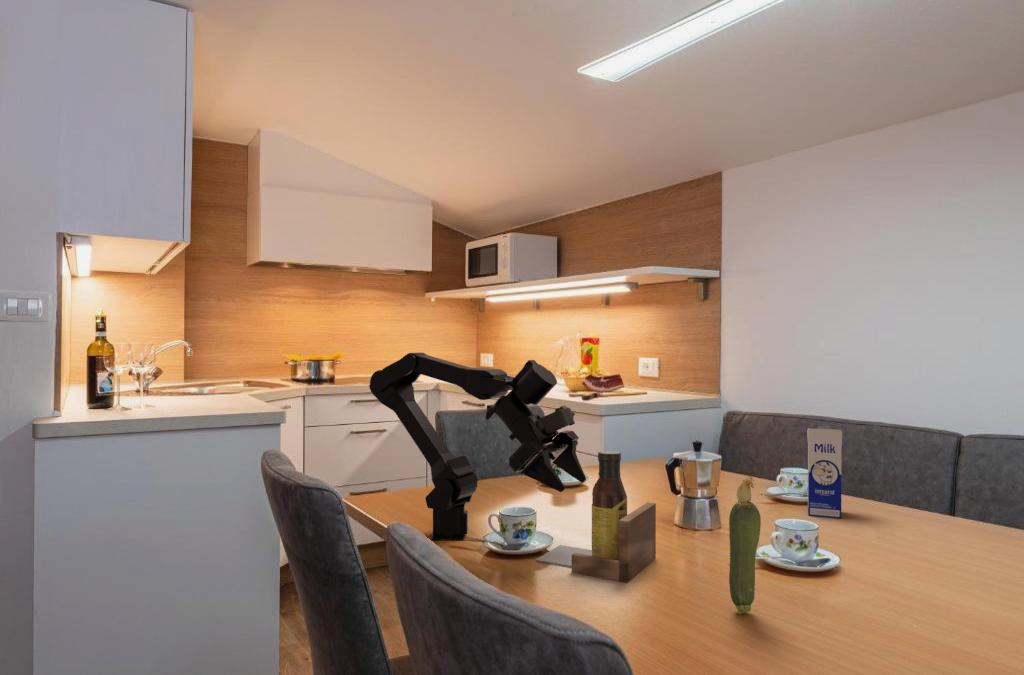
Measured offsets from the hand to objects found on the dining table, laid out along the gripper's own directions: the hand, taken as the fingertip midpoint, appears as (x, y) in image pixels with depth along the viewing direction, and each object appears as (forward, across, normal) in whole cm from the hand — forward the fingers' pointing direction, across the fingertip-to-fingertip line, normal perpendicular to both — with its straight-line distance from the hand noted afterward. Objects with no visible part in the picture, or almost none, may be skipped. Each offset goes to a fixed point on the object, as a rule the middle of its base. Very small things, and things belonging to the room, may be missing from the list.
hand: (574, 485), depth 126 cm
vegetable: (+32, -10, -13) cm, 36 cm away
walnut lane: (+15, 0, +4) cm, 15 cm away
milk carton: (+35, +58, -16) cm, 70 cm away
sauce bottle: (+14, 0, +5) cm, 15 cm away
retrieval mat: (+8, 0, +10) cm, 13 cm away
